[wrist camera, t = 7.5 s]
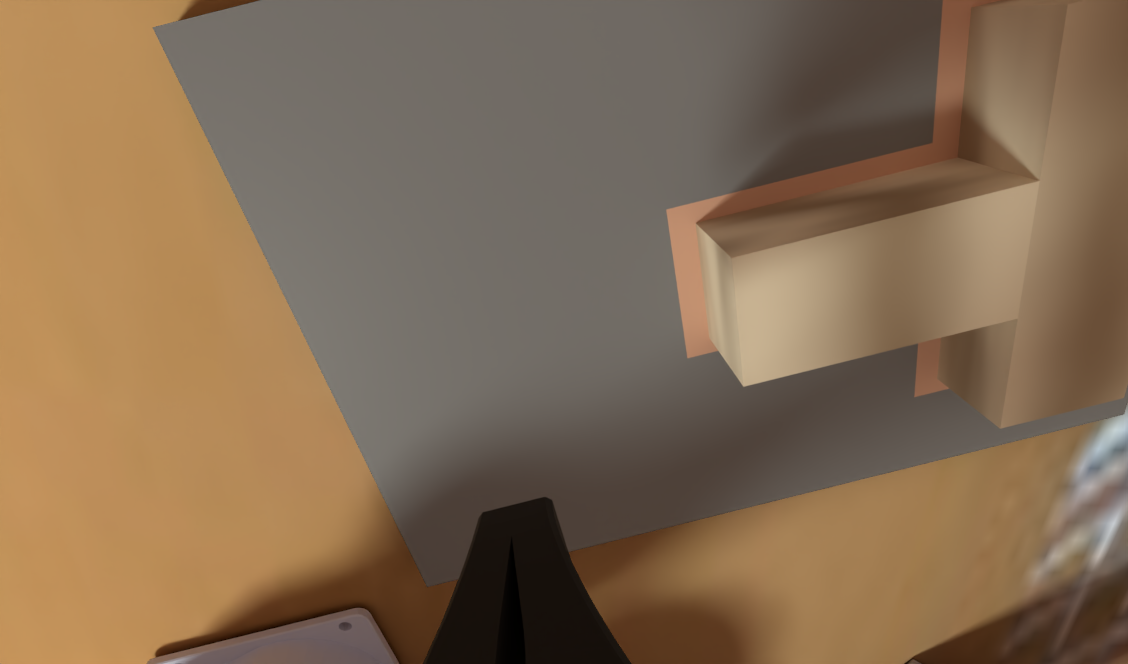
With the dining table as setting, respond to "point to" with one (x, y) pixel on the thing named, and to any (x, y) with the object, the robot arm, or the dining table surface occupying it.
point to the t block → (962, 235)
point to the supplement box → (913, 662)
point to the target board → (575, 239)
